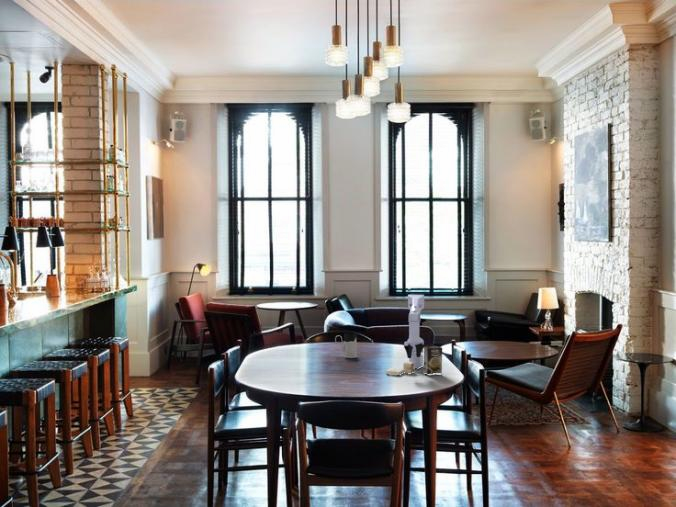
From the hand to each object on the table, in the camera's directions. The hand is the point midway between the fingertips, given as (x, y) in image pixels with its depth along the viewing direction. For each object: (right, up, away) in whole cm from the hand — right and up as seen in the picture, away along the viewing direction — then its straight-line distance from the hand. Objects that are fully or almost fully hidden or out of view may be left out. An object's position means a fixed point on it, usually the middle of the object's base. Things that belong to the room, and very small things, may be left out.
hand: (413, 357), depth 380 cm
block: (-2, -10, +8) cm, 13 cm away
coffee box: (+11, -11, +5) cm, 16 cm away
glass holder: (-38, -8, +55) cm, 67 cm away
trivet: (-10, -10, +5) cm, 15 cm away
